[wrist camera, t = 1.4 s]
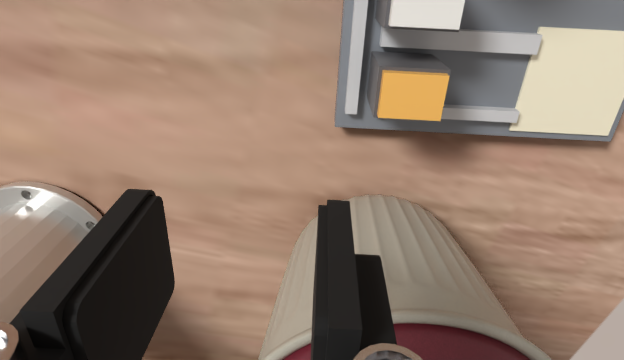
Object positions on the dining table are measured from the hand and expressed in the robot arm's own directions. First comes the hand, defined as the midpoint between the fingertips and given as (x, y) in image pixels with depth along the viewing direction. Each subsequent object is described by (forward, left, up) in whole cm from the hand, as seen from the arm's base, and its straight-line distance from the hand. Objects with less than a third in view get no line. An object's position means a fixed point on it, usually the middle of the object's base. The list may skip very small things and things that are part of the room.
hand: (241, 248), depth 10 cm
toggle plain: (+5, -7, -19) cm, 21 cm away
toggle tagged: (0, -7, -19) cm, 21 cm away
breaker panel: (+3, -13, -21) cm, 25 cm away
